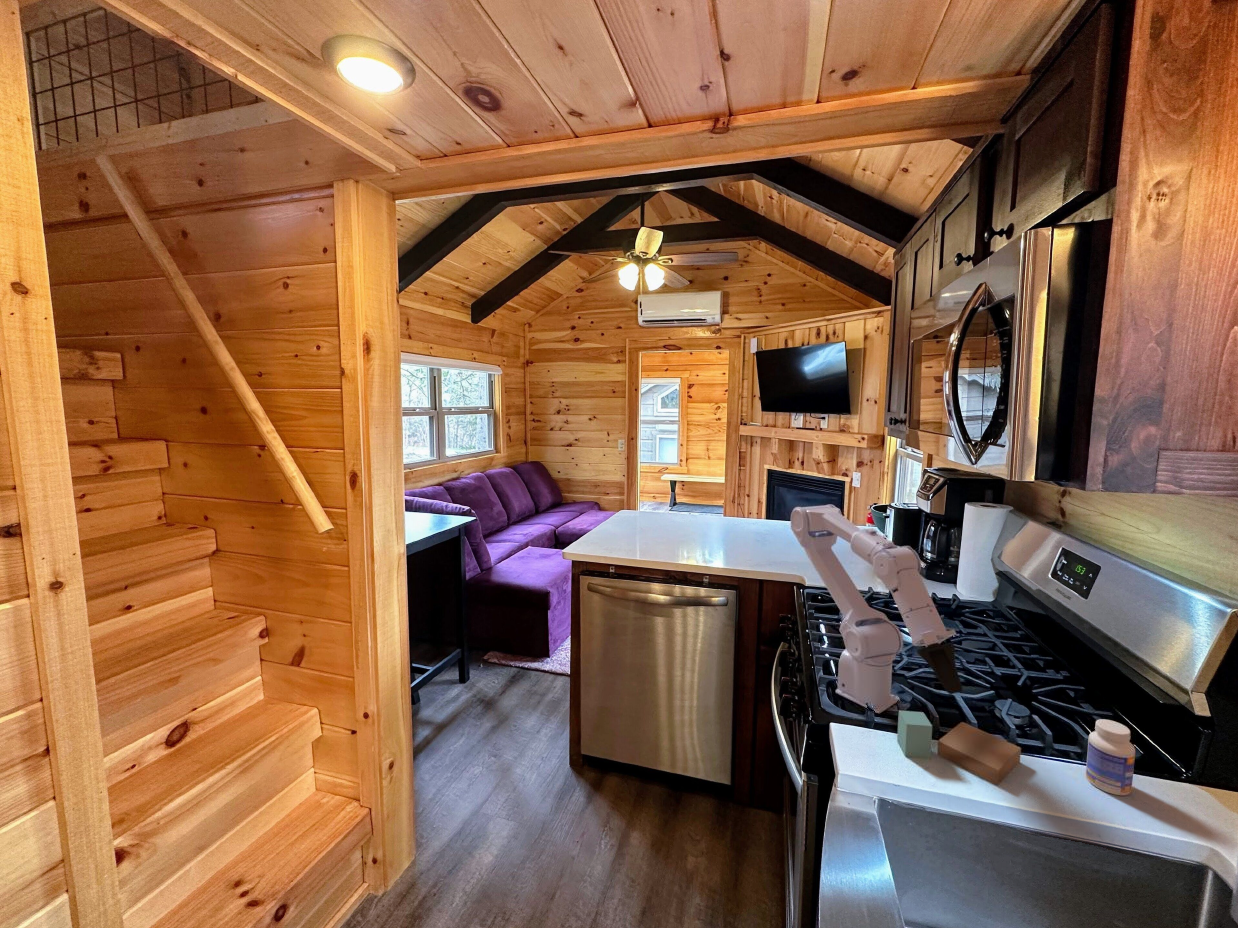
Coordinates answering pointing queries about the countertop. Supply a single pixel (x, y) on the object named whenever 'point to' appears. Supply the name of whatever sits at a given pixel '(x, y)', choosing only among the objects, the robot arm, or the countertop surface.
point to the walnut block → (979, 752)
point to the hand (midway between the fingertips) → (955, 692)
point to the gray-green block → (914, 734)
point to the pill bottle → (1110, 758)
